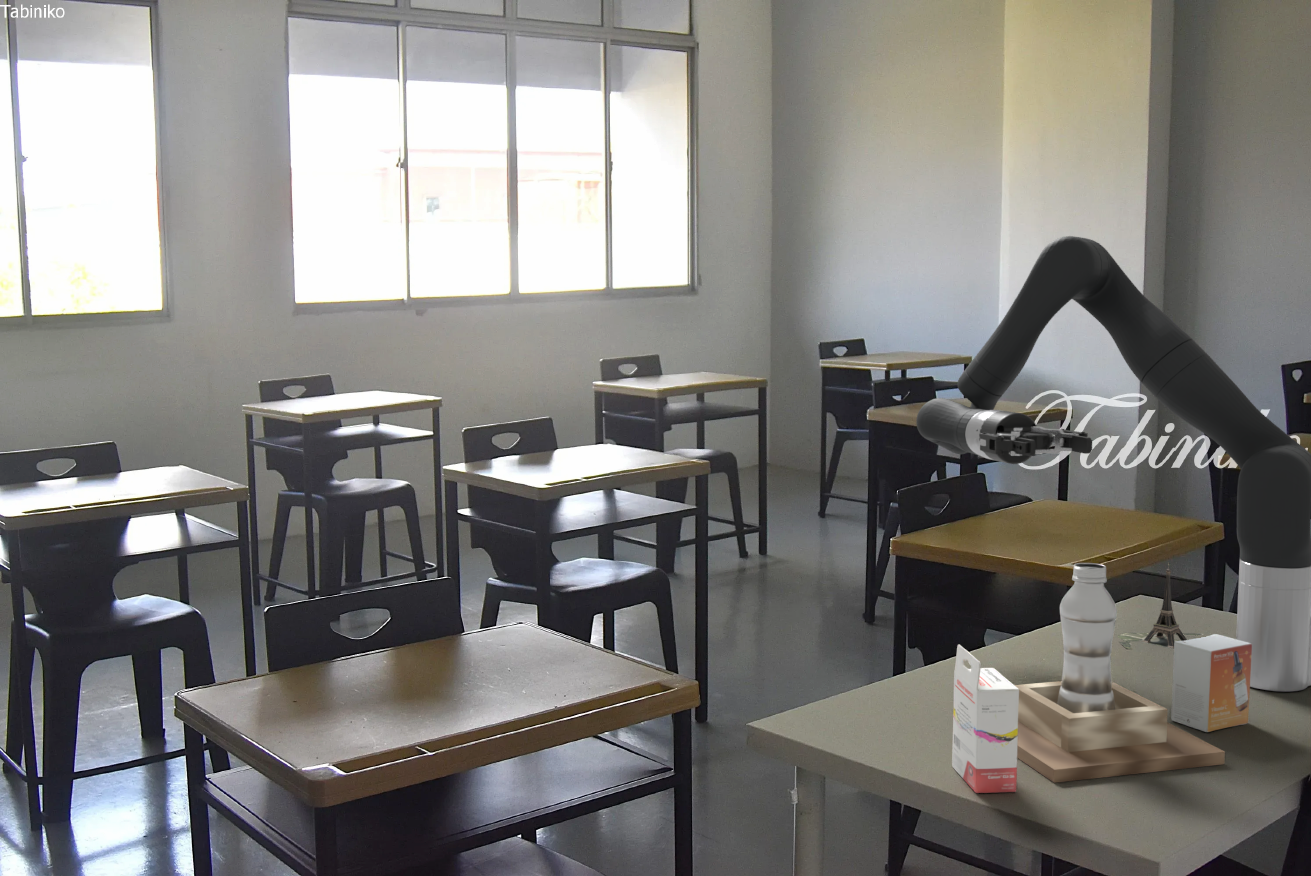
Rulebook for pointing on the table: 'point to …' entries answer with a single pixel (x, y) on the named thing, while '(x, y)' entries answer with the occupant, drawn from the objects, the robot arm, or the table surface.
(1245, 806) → the table surface
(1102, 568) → the silver metal bottle
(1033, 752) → the socket board
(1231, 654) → the small box
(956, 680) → the ink cartridge box
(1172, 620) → the eiffel tower figurine
